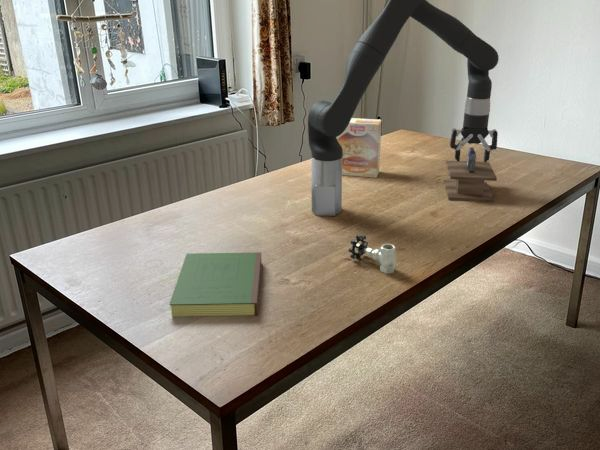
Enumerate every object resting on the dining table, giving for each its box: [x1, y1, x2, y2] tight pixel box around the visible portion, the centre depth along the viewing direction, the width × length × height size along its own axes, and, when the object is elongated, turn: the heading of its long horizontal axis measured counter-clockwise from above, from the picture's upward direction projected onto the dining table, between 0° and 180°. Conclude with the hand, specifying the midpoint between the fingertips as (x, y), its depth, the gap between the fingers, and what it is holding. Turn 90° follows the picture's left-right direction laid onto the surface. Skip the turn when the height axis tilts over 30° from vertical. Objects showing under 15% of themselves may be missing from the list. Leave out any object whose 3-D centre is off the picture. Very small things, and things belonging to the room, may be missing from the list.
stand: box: [443, 160, 498, 203], centre depth 196 cm, size 16×14×8 cm
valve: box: [348, 234, 397, 274], centre depth 150 cm, size 7×7×12 cm
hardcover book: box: [168, 251, 263, 318], centre depth 141 cm, size 25×19×4 cm
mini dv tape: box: [466, 147, 477, 173], centre depth 193 cm, size 8×2×6 cm, turn 171°
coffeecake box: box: [336, 117, 383, 178], centre depth 212 cm, size 15×7×20 cm, turn 76°
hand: (471, 161), depth 193 cm, fingers open, 8 cm apart
